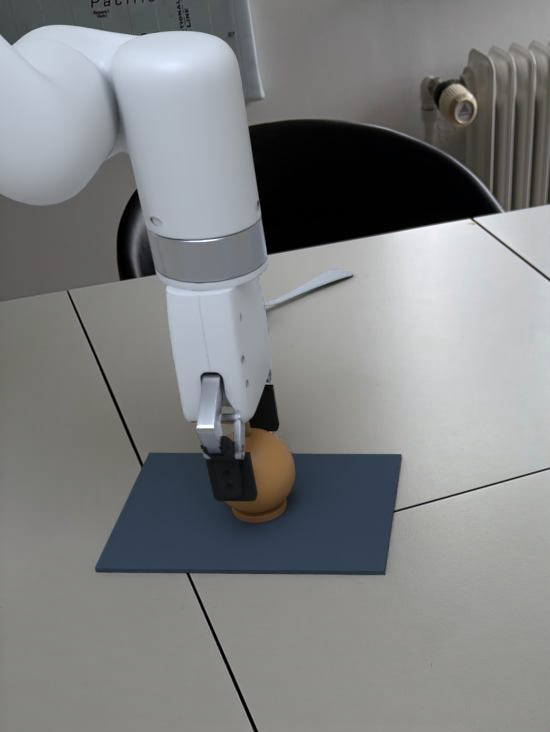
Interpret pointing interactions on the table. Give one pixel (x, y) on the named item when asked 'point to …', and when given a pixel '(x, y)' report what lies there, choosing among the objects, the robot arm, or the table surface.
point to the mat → (257, 540)
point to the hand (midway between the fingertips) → (248, 462)
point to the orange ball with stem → (266, 476)
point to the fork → (313, 284)
